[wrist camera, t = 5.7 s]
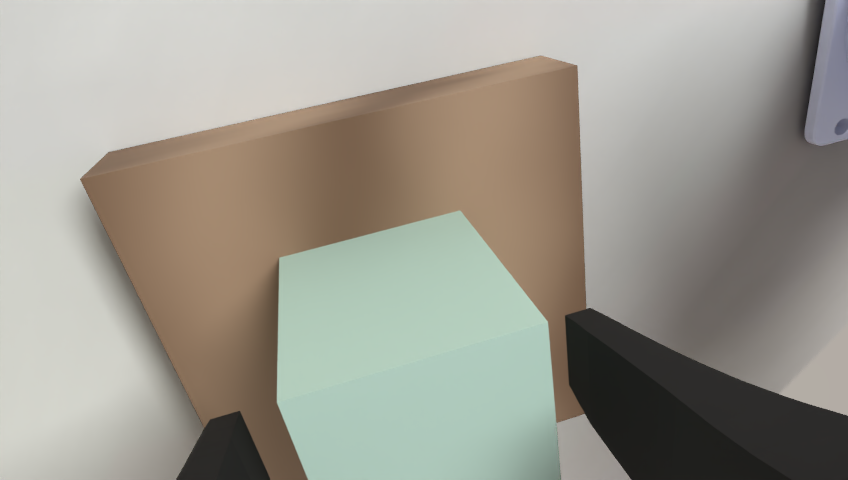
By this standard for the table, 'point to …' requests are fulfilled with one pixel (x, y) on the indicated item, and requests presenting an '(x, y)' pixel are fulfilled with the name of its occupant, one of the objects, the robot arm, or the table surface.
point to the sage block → (414, 360)
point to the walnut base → (343, 217)
